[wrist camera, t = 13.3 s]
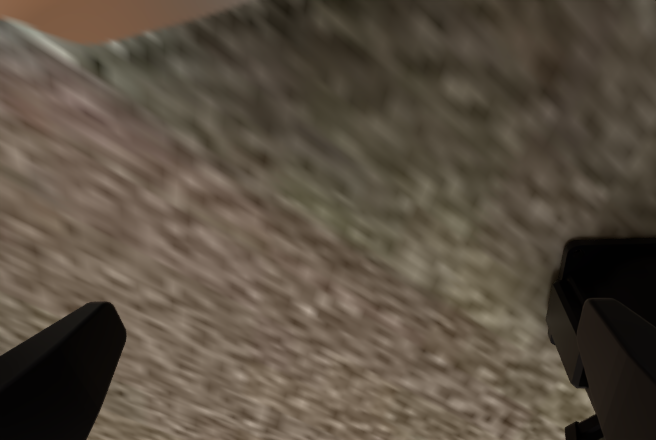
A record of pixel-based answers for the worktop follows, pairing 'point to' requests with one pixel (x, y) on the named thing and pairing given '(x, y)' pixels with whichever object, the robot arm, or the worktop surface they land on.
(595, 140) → the worktop surface
